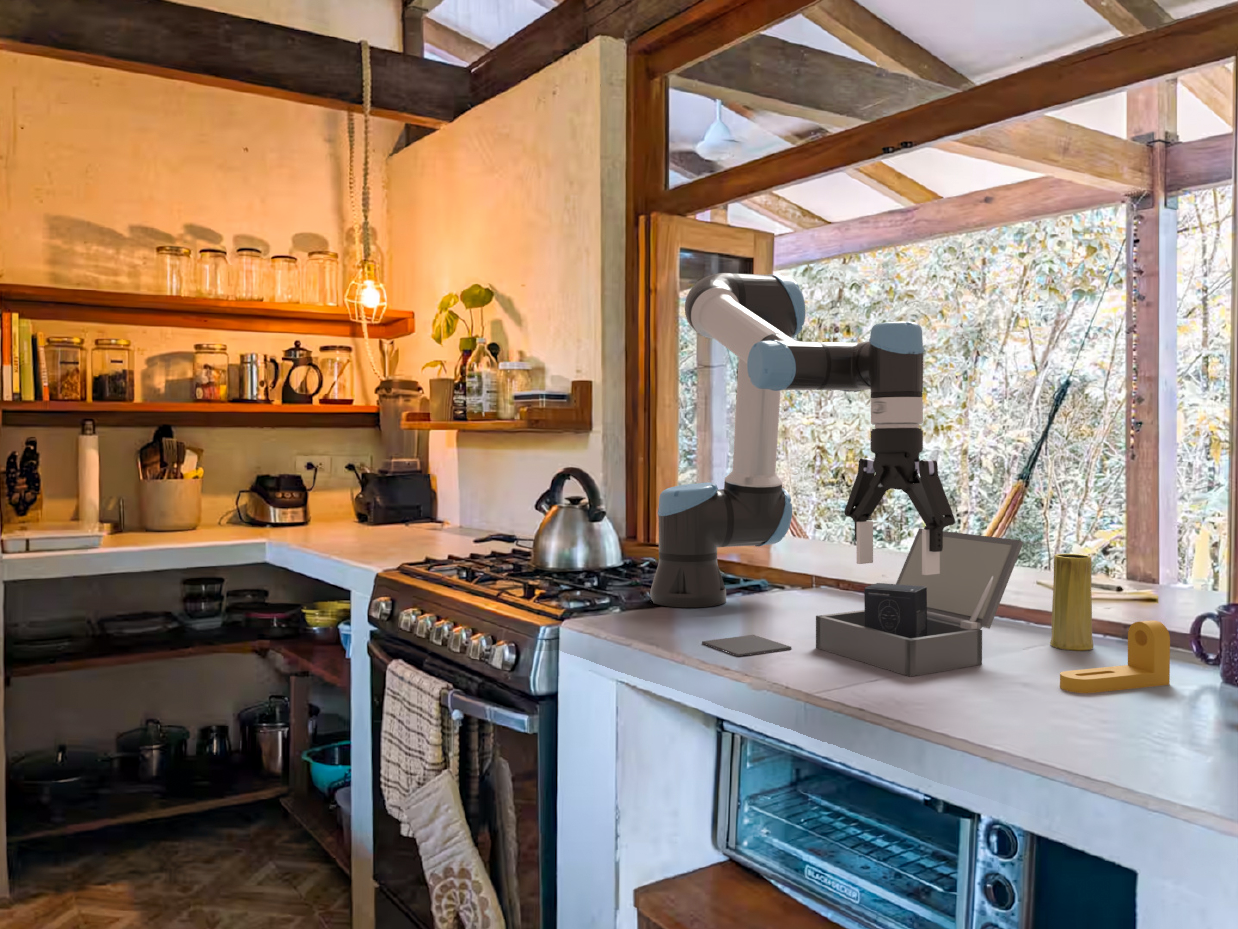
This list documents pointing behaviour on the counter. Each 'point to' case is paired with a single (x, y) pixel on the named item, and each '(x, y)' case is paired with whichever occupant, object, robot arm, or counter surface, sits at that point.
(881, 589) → the box
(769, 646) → the mat
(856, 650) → the case
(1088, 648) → the vase
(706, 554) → the robot arm
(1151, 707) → the counter surface
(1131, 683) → the bracket
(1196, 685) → the counter surface
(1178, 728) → the counter surface
